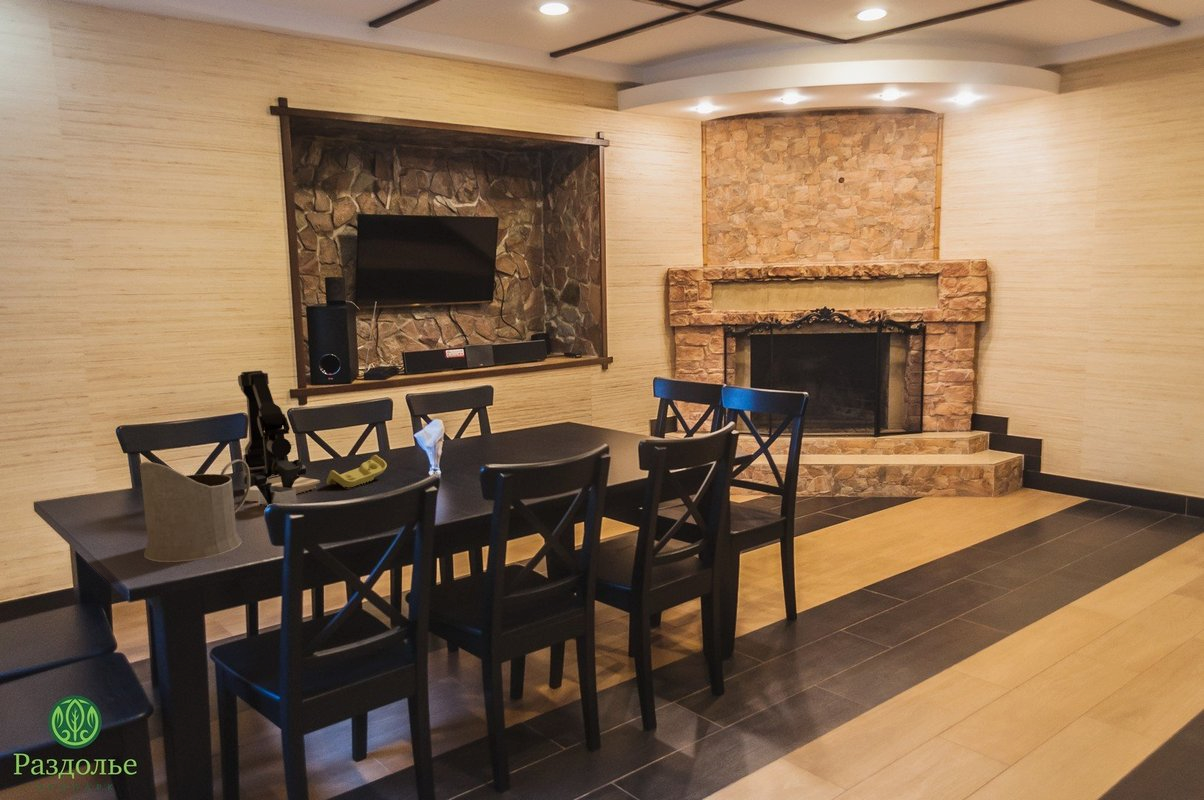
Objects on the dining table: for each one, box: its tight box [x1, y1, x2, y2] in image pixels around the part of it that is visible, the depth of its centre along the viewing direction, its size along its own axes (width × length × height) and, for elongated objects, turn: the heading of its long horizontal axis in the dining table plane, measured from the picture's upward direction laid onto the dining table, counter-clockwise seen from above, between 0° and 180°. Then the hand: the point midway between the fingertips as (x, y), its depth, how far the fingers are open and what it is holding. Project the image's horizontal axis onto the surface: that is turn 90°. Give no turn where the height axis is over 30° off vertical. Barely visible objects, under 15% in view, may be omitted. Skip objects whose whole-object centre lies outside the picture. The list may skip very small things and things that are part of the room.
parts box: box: [244, 486, 260, 500], centre depth 285 cm, size 5×5×4 cm
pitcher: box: [139, 458, 250, 563], centre depth 238 cm, size 23×32×25 cm
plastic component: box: [326, 454, 388, 488], centre depth 306 cm, size 20×7×10 cm
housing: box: [259, 485, 298, 507], centre depth 277 cm, size 10×6×5 cm, turn 56°
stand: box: [271, 476, 321, 493], centre depth 294 cm, size 10×14×3 cm
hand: (278, 501), depth 278 cm, fingers closed on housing, 6 cm apart
